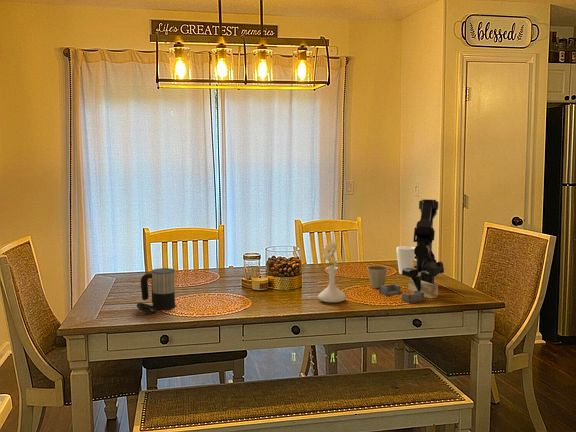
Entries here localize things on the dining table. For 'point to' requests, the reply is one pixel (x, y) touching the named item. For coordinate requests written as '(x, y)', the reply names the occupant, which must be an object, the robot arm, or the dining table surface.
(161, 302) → the milk frother
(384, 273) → the flower pot
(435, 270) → the robot arm
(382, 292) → the end caps
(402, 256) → the foam cup
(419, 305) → the dining table surface
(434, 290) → the beige rectangular block
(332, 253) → the flower in vase
